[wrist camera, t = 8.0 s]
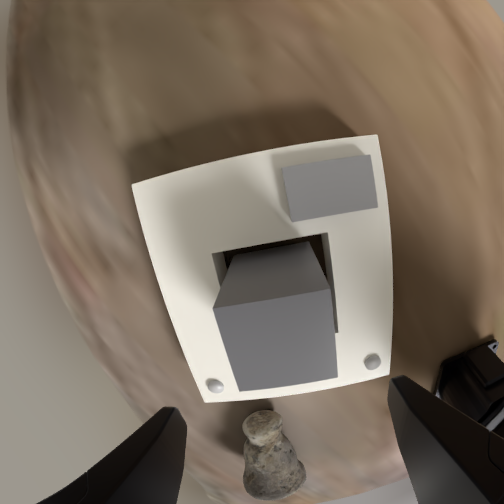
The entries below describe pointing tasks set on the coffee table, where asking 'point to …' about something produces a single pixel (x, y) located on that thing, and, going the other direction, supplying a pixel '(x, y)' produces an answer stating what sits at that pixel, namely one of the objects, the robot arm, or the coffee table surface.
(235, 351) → the plug
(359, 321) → the socket plate
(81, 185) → the coffee table surface
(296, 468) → the stone
